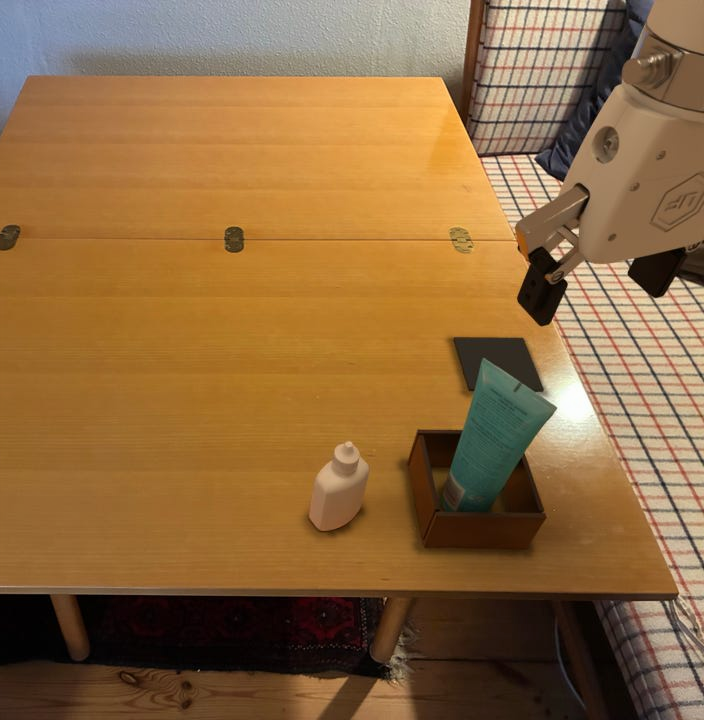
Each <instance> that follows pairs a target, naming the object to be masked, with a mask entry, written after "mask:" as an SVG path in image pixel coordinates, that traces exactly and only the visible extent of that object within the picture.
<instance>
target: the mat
mask: <svg viewBox="0 0 704 720" xmlns="http://www.w3.org/2000/svg"><path fill="white" fill-rule="evenodd" d="M453 342H454V346H455V349H456V353H457V356H458V359H459V362H460V365H461V369H462V372H463V376H464V379H465V383H466V385H467V389H468V391H469V392H472V391H473V392H474V390H475V387H476V383H477V379H478V375H479V370H480V366H481V362H482V359H483V358H485V359H486V360H488V361H489V362H491V363H492V364H494V365H495V366H497V367H499V368H500V369H502V370H503V371H505V372H506V373H508V374H509V375H511V376H512V377H514V378H515V379H517V380H518V381H519V382H521V383H522V384H524V385H525V386H527V387H528V388H530V389H531V390H533V391H534V392H544V391H545V388H544V385H543V384H542V380H541V378H540V376H539V373H538V371H537V369H536V365H535V364H534V361H533V357H532V355H531V354H530V351H529V349H528V346H527V343H526V341H525V339H524V337H496V336H495V337H494V336H493V337H490V336H489V337H488V336H487V337H483V336H481V337H479V336H478V337H477V336H475V337H474V336H472V337H471V336H454V337H453Z"/></svg>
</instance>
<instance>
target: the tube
mask: <svg viewBox="0 0 704 720" xmlns="http://www.w3.org/2000/svg"><path fill="white" fill-rule="evenodd" d="M557 410H558V407H557V406H556V405H555V404H553V403H551V402H550V401H549V400H547V399H546V398H545V397H544V396H542V395H540V394H539V393H538V392H537V391H533V390H531V389H530V388H528V387H527V386H525V385H524V384H522V383H521V382H519V381H518V380H517V379H515V378H514V377H512V376H511V375H509V374H508V373H506V372H505V371H503V370H502V369H500V368H499V367H497V366H495V365H494V364H492V363H491V362H489V361H488V360H486V359H485V358H483V359H482V362H481V366H480V370H479V375H478V379H477V383H476V387H475V390H474V391H473V394H472V398H471V402H470V404H469V409H468V412H467V415H466V418H465V422H464V425H463V429H462V430H463V431H462V434H461V437H460V440H459V443H458V447H457V450H456V453H455V456H454V459H453V462H452V465H451V467H449V471H448V475H447V477H446V481H445V483H444V487H443V489H442V492H441V495H440V496H441V497H440V502H441V505H442V508H443V510H444V512H491V510H492V507H493V506H494V504H495V502H496V500H497V498H498V497H499V495H500V493H501V491H502V490H503V489H504V487H503V486H504V485H505V483H506V481H507V480H508V478H509V476H510V475H511V473H512V471H513V470H514V468H515V467H516V465H517V463H518V462H519V460H520V459H521V457H522V456H523V454H524V453H525V454H526V451H527V450H528V448H529V447H530V445H531V443H532V442H533V441H534V440H535V438H536V437H537V435H538V434H539V432H540V431H541V430H542V429H543V427H544V426H545V424H547V423H548V421H549V420H550V419H551V418H552V417H553V416H554V414H555V412H556V411H557Z"/></svg>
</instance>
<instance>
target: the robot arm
mask: <svg viewBox="0 0 704 720" xmlns="http://www.w3.org/2000/svg"><path fill="white" fill-rule="evenodd" d="M576 229H578V234H576V233H575V232H574V231H573V230H576ZM514 232H515V236H516V242H517V247H516V248H517V251H518V252H519V253H520V254H521V256H522V257H523V258H524V259H525V260H526V262H528V264H529V266H528V268H527V270H526V273H525V276H524V278H523V281H522V283H521V286H520V288H519V291H518V293H517V296H516V302H517V304H519V306H520V307H521V308H522V309H523V310H524V312H526V313H527V314H528V315H529V316H530V317H531V319H532V320H533V321H534V322H535V324H537V325H538V326H539V327H547V326H550V325H551V323H552V321H553V320H554V317H555V315H556V312H557V311H558V308H559V307H560V304H561V302H562V299H563V297H564V295H565V293H566V291H567V289H568V286H569V282H568V281H567V279H566V277H567V276H568V275H569V274H571V273H572V272H573V271H574V270H575V269H576V268H577V267H578V266H579V265H580V264H582V263H583V262H584V261H585V260H586V261H587V262H589V263H590V264H592V265H608V264H614V263H620V262H624V261H629V260H632V262H631V264H630V265H629V268H628V270H627V273H626V274H627V276H628V278H630V279H631V280H632V281H633V282H634V283H635V284H637V286H639V287H640V288H641V289H642V290H643V291H644V292H645V293H646V294H648V295H649V296H650V297H652V298H653V299H658V298H662V297H664V296H665V295H666V293H667V292H668V291H669V288H670V287H671V285H672V283H673V282H674V280H675V278H676V277H677V275H678V273H679V271H680V270H681V268H682V266H683V265H684V263H685V262H686V260H687V258H688V256H689V255H688V254H687V253H693V252H694V251H696V250H697V249H699V248H700V246H701V245H702V243H703V241H704V0H654V1H653V4H652V6H651V9H650V12H649V13H648V16H647V18H646V21H645V23H644V25H643V28H642V30H641V32H640V35H639V37H638V40H637V42H636V45H635V47H634V49H633V52H632V54H631V57H630V59H627V60H626V61H625V62H624V64H623V65H622V68H621V83H620V84H618V85H616V86H614V88H613V90H612V92H610V94H609V96H608V98H607V99H606V101H605V102H604V104H603V106H602V107H601V109H600V110H599V112H598V114H597V116H596V117H595V119H594V121H593V123H592V125H591V126H590V128H589V130H588V131H587V133H586V135H585V137H584V139H583V141H582V143H581V144H580V147H579V149H578V150H577V153H576V154H575V156H574V159H573V161H572V163H571V165H570V167H569V169H568V171H567V173H566V175H565V177H564V180H563V182H562V185H561V187H560V189H559V192H558V195H557V197H556V198H554V199H552V200H550V201H549V202H547V203H545V204H544V205H543V206H540V207H539V208H537V209H536V210H534V211H533V212H530V213H529V214H527V215H526V216H524V217H522V218H520V220H518V221H517V222H516V223H515V226H514ZM565 240H566V241H567V242H568V243H569V244H570V245H571V246H573V247H571V249H570V250H569V251H568V252H566V253H565V254H564V255H563V256H562V257H561V258H559V260H556V259H555V258H554V256H552V254H551V252H553V251H554V250H555V249H556V248H557V247H558V246H560V244H562V243H563V241H565Z"/></svg>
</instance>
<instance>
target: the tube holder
mask: <svg viewBox="0 0 704 720" xmlns="http://www.w3.org/2000/svg"><path fill="white" fill-rule="evenodd" d="M462 431H463V429H421V428H420V429H416V433H415V436H414V439H413V441H412V445H411V449H410V452H409V455H408V457H407V460H406V465H407V467H408V468H407V469H408V474H409V480H410V485H411V490H412V496H413V500H414V505H415V510H416V515H417V519H418V525H419V531H420V534H421V539H422V544H423V548H447V549H448V548H449V549H451V548H452V549H517V550H518V549H520V550H521V549H523V550H525V549H526V550H527V549H528V548H529V547H530V545H531V544H532V542H533V540H534V539H535V537H536V535H537V534H538V532H539V531H540V529H541V528H542V526H543V524H544V523H545V521H546V519H547V518H548V517H547V513H546V512H545V507H544V505H543V502H542V499H541V496H540V493H539V491H538V487H537V485H536V482H535V479H534V476H533V473H532V471H531V468H530V465H529V462H528V459H527V456H526V452H525V453H524V454H523V456H522V457H521V459H520V460H519V462H518V463H517V465H516V467H515V468H514V470H513V471H512V473H511V475H510V476H509V478H508V480H507V481H506V483H505V485H504V486H503V489H504V493H505V496H506V499H507V502H508V506H509V509H510V512H502V511H501V512H496V511H495V512H494V511H493V512H491V511H489V512H446V511H441V507H440V503H439V497H438V494H437V489H436V484H435V481H434V476H433V472H432V468H431V467H444V468H445V467H449V468H451V465H452V462H453V459H454V456H455V453H456V450H457V447H458V443H459V440H460V437H461V434H462Z"/></svg>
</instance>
